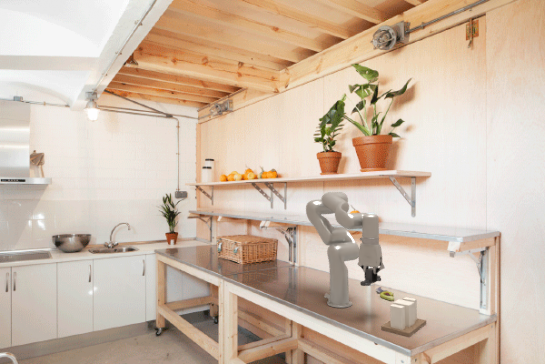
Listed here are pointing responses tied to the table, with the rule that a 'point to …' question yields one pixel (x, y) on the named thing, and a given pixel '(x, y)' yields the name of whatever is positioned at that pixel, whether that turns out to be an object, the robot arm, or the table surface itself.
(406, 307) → the boxes on tan tray
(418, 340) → the table surface
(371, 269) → the grey bar with discs
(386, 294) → the curved yellow hook
